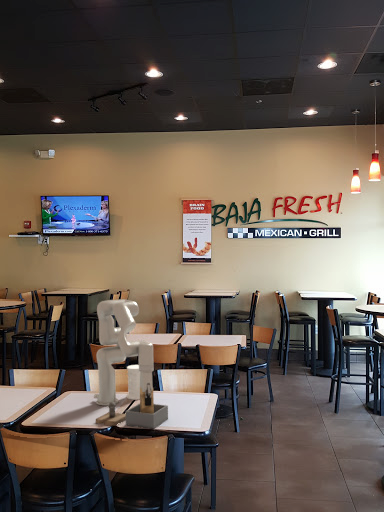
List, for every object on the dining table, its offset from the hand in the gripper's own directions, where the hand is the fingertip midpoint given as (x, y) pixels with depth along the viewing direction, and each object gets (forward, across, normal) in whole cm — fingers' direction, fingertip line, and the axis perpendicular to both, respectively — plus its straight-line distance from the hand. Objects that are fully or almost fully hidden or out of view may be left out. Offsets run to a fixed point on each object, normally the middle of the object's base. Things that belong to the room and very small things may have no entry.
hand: (146, 403), depth 246 cm
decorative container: (+10, -47, +3) cm, 48 cm away
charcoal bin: (+9, 0, 0) cm, 9 cm away
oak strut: (+5, 0, 0) cm, 5 cm away
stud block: (+10, -8, -16) cm, 21 cm away
